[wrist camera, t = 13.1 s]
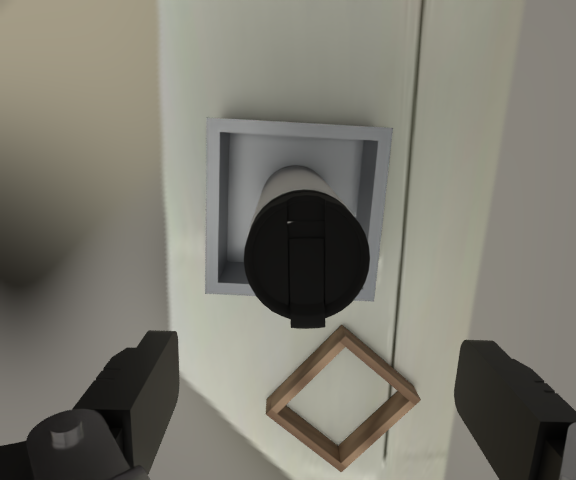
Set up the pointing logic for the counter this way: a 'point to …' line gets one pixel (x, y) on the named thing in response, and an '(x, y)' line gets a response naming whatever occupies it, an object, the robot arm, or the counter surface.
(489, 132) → the counter surface
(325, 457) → the walnut holder
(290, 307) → the travel mug
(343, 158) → the gray bin
